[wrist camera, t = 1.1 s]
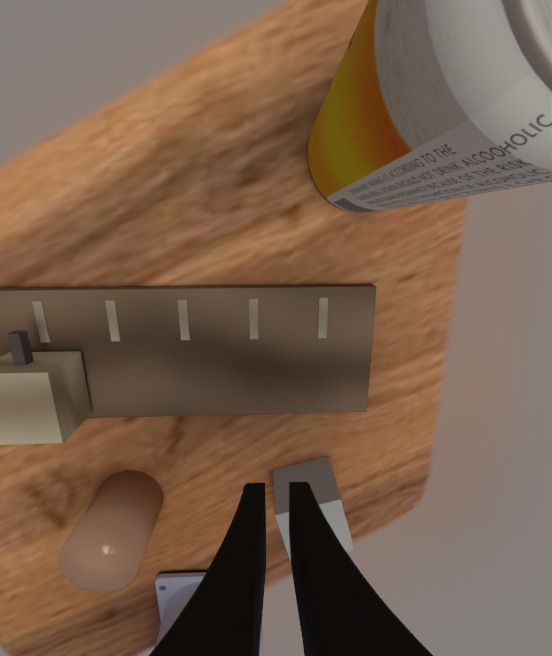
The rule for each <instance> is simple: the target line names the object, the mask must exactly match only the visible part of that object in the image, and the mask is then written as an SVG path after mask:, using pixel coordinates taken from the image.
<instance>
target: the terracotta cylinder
mask: <svg viewBox="0 0 552 656" xmlns="http://www.w3.org/2000/svg"><path fill="white" fill-rule="evenodd" d="M163 500H164V496H163V491H162V489H161V487H160V485H159V484H158V483H157V482H156V481H155V480H154V479H153V478H152V477H150V476H149V475H147V474H145V473H142V472H138V471H130V470H128V471H120V472H117V473H115V474H113V475H111V476H110V477H108V478H107V479H106V480H105V482H104V483H103V485H102V486H101V488H100V489H99V491H98V492H97V494H96V496H95V497H94V499H93V500H92V502H91V503H90V505H89V507H88V508H87V510H86V511H85V513H84V514H83V516H82V517H81V519H80V521H79V522H78V524H77V525H76V527H75V528H74V530H73V531H72V533H71V535H70V536H69V538H68V539H67V541H66V542H65V544H64V546H63V547H62V549H61V551H60V553H59V566H60V569H61V571H62V573H63V574H64V576H65V577H66V578H67V579H68V580H69V581H70V582H72V583H73V584H75V585H76V586H78V587H80V588H83V589H85V590H89V591H94V592H111V591H116V590H119V589H121V588H123V587H125V586H127V585H128V584H129V583H130V582H131V581H132V580H133V579H134V578H135V576H136V574H137V571H138V569H139V566H140V563H141V561H142V558H143V555H144V553H145V550H146V547H147V545H148V542H149V539H150V537H151V534H152V531H153V529H154V526H155V523H156V521H157V518H158V515H159V513H160V510H161V507H162V504H163Z"/></svg>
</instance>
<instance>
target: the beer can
mask: <svg viewBox="0 0 552 656" xmlns="http://www.w3.org/2000/svg"><path fill="white" fill-rule="evenodd" d="M308 162H309V168H310V172H311V175H312V178H313V180H314V182H315V184H316V186H317V188H318V189H319V190H320V192H321V193H322V194H323V196H324V197H325V198H326V199H327V200H329V201H330V202H331V203H332V204H334V205H335V206H337V207H339V208H341V209H343V210H346V211H349V212H354V213H371V212H377V211H383V210H389V209H395V208H400V207H406V206H412V205H418V204H424V203H429V202H435V201H441V200H447V199H453V198H458V197H464V196H470V195H476V194H481V193H487V192H492V191H499V190H505V189H510V188H516V187H522V186H528V185H534V184H539V183H546V182H551V181H552V0H369V1H368V3H367V6H366V8H365V10H364V12H363V14H362V17H361V19H360V21H359V23H358V25H357V28H356V30H355V32H354V34H353V37H352V39H351V41H350V43H349V45H348V48H347V50H346V52H345V54H344V57H343V59H342V61H341V63H340V65H339V68H338V70H337V72H336V74H335V77H334V79H333V81H332V83H331V85H330V88H329V90H328V92H327V94H326V97H325V99H324V101H323V103H322V105H321V108H320V110H319V112H318V114H317V117H316V119H315V121H314V123H313V126H312V129H311V132H310V136H309V142H308Z"/></svg>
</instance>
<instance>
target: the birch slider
mask: <svg viewBox="0 0 552 656" xmlns="http://www.w3.org/2000/svg"><path fill="white" fill-rule="evenodd" d="M7 338H8V342H9V346H10V350H11V352H9V353H7V354H5V355H3V356H1V357H0V445H9V444H50V443H63V442H64V441H65V440H66V439H67V438H68V437H69V436H70V435H71V434H72V433H73V432H74V431H75V430H76V429H77V428H78V427H79V426H80V425H81V424H82V423H83V421H84V420H85V419H86V418H87V417H88V416H89V415H90V414H91V407H90V402H89V396H88V391H87V385H86V380H85V374H84V369H83V363H82V358H81V352H80V351H65V352H32V350H31V346H30V341H29V337H28V332H27V330H17V331H13V332H10V333H8V334H7Z"/></svg>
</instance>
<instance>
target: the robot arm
mask: <svg viewBox="0 0 552 656" xmlns="http://www.w3.org/2000/svg"><path fill="white" fill-rule="evenodd" d="M289 539H290V555H291V566H292V573H293V579H294V586H295V593H296V599H297V606H298V612H299V619H300V625H301V632H302V638H303V645H304V654H305V656H433V655H432V654H431V653H430V652H429V651H428V650H427V649H426V648H425V647H424V646H423V645H422V644H421V643H420V642H419V641H418V640H417V639H416V638H415V637H414V635H413V634H412V633H411V632H410V631H409V630H408V629H407V628H406V627H405V625H404V624H403V623H402V622H401V621H400V620H399V619H398V618H397V617H396V615H394V613H393V612H392V611H391V610H390V609H389V608H388V607H387V605H386V604H385V603H384V602H383V600H382V599H381V598H380V597H379V596H378V594H377V593H376V592H375V591H374V589H373V588H372V587H371V586H370V584H369V583H368V582H367V580H366V579H365V578H364V577H363V575H362V574H361V572H360V571H359V570H358V568H357V567H356V566H355V564H354V563H353V561H352V560H351V558H350V557H349V555H348V554H347V552H346V551H345V549H344V548H343V546H342V545H341V543H340V541H339V540H338V538H337V537H336V535H335V533H334V531H333V530H332V528H331V526H330V525H329V523H328V521H327V520H326V518H325V516H324V514H323V512H322V510H321V508H320V506H319V504H318V502H317V500H316V498H315V496H314V494H313V491H312V489H311V486H310V484H309V483H308V482H289ZM265 571H266V511H265V483H247V484H246V485H245V486H244V489H243V493H242V496H241V500H240V503H239V505H238V508H237V511H236V513H235V516H234V518H233V520H232V523H231V525H230V527H229V529H228V532H227V534H226V536H225V538H224V540H223V542H222V544H221V546H220V548H219V550H218V552H217V554H216V556H215V558H214V560H213V562H212V563H211V565H210V567H209V569H208V570H207V572H198V573H170V574H160V575H158V576H157V578H156V581H155V585H156V592H157V599H158V606H159V613H160V620H161V626H160V630H159V634H158V638H157V642H156V645H155V648H154V650H153V651H152V652H151V654H150V655H149V656H263V644H262V609H263V597H264V584H265Z"/></svg>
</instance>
